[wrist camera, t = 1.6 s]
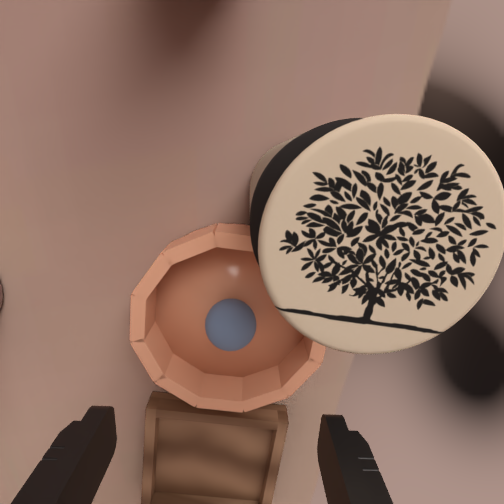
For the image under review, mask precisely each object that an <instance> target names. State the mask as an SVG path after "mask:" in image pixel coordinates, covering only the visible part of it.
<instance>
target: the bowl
mask: <svg viewBox="0 0 504 504" xmlns="http://www.w3.org/2000/svg"><path fill="white" fill-rule="evenodd" d="M224 299H238V300H241V301H243V302H245V303H246V304H247V305H248V306H249V307H250V308H251V309H252V311H253V312H254V315H255V317H256V332H255V334H254V337H253V339H252V340H251V341H250V343H249V344H248V345H246V346H245V347H244V348H242V349H240V350H236V351H225V350H221V349H219V348H217V347H216V346H214V345H213V344H212V343H211V341H210V340H209V339H208V337H207V334H206V330H205V320H206V316H207V314H208V312H209V310H210V309H211V308H212V306H214V305H215V304H216V303H217V302H219V301H221V300H224ZM130 341H131V343H130V344H131V346H132V347H133V349H134V351H135V352H136V354H137V356H138V357H139V359H140V361H141V362H142V364H143V366H144V367H145V369H146V371H147V372H148V374H149V376H150V377H151V379H152V381H153V382H155V381H156V382H155V384H157V385H158V386H160V387H162V388H163V389H165V390H167V391H168V392H170V393H172V394H173V395H175V396H177V397H178V398H180V399H182V400H183V401H185V402H187V403H188V404H190V405H192V406H193V407H195V406H196V405H197V407H196V408H203V409H213V410H223V411H232V412H242V413H243V410H244V412H247V411H250V410H253V409H256V408H259V407H262V406H265V405H268V404H271V403H274V402H277V401H280V400H283V399H286V398H288V396H291V395H292V394H293V393H294V392H295V391H296V390H297V389H298V388H299V387H300V386H301V385H302V384H303V383H304V382H305V381H306V380H307V379H308V378H309V377H310V376H311V375H312V374H313V373H314V372H315V371H316V370H317V369H318V368H319V367H320V366H321V363H322V362H323V358H324V353H325V349H326V346H323V345H321V344H319V343H317V342H315V341H313V340H311V339H309V338H307V337H306V336H304V335H303V334H301V333H300V332H299V331H297V330H296V329H295V328H294V327H293V326H291V325H290V324H289V323H288V322H287V321H286V320H285V318H284V317H283V316H282V315H281V314H280V313H279V311H278V310H277V308H276V307H275V305H274V304H273V302H272V300H271V298H270V297H269V295H268V293H267V290H266V288H265V285H264V282H263V279H262V276H261V271H260V267H259V265H258V263H257V261H256V258H255V255H254V252H253V248H252V244H251V236H250V225H245V224H234V223H228V224H224V223H219V224H217V223H216V224H213V225H211V226H207V227H204V228H201V229H198V230H195V231H193V232H191V233H189V234H187V235H185V236H184V237H181V238H179V239H177V240H174V241H172V242H171V243H170V244H169V245H168V246H167V247H166V248H165V249H164V250H163V251H162V252H161V253H160V255H159V256H158V258H157V259H156V260H155V262H154V263H153V264H152V266H151V267H150V269H149V270H148V271H147V273H146V274H145V275H144V277H143V278H142V280H141V281H140V282H139V284H138V285H137V287H136V288H135V289H134V291H133V292H132V295H131V307H130Z"/></svg>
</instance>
